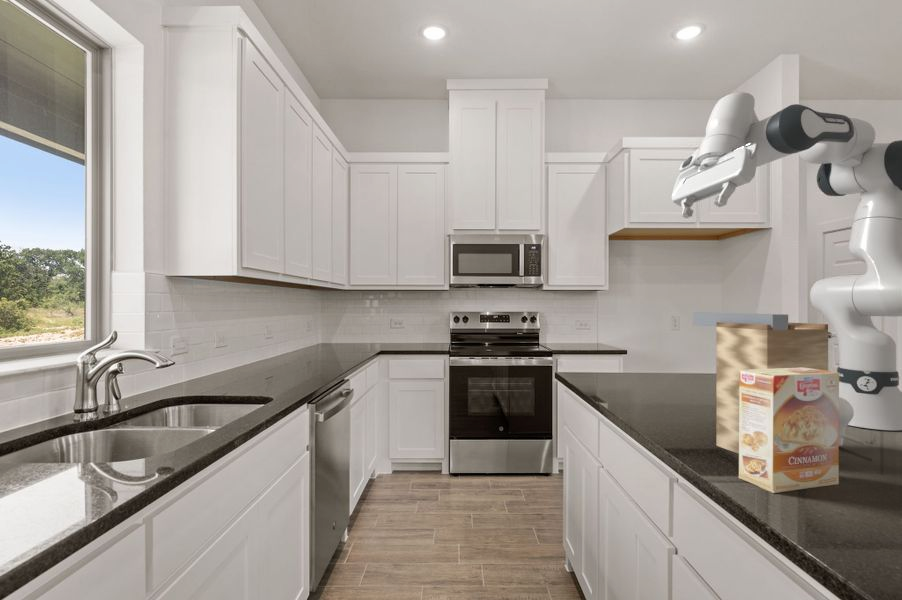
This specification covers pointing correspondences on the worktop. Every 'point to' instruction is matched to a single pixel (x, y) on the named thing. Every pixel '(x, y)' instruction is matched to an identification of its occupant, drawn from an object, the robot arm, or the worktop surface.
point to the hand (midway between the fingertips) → (702, 211)
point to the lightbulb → (844, 417)
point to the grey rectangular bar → (742, 319)
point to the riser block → (759, 363)
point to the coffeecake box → (789, 428)
